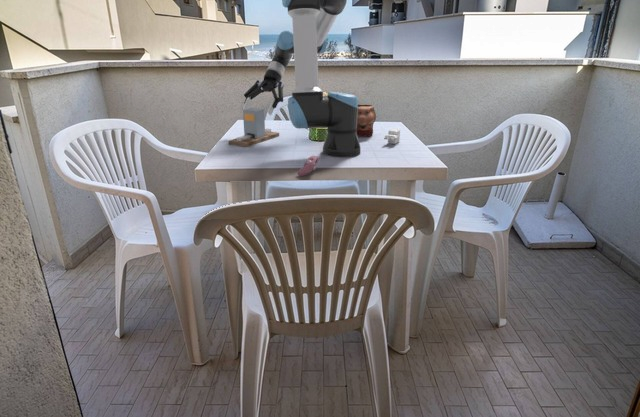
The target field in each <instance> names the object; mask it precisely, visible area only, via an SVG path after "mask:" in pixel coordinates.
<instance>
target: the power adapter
mask: <svg viewBox="0 0 640 417" xmlns="http://www.w3.org/2000/svg"><path fill="white" fill-rule="evenodd" d="M400 136H401V129H399V128H391V129H389V130H388V134H386V135H384V140H387V143H388V144H393V145H396V144H398V143H400V139H401V138H400Z"/></svg>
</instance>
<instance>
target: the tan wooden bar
mask: <svg viewBox="0 0 640 417" xmlns="http://www.w3.org/2000/svg"><path fill="white" fill-rule="evenodd" d="M271 132H272V129H271V128H265V134H268V133H271ZM236 138H237V141H239V142H243V141H246V140H249V139H252V138H255V134H252V133H251V134H248V135H241V136H238V137H236Z"/></svg>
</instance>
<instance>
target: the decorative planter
mask: <svg viewBox="0 0 640 417" xmlns="http://www.w3.org/2000/svg"><path fill="white" fill-rule="evenodd" d="M376 119H377V113H376V110H375V107H374V105H373V104H358V115H357V137H372V136H373V135H374V124H375V122H376Z"/></svg>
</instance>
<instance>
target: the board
mask: <svg viewBox="0 0 640 417" xmlns="http://www.w3.org/2000/svg"><path fill="white" fill-rule="evenodd" d="M279 136H280V132H276V131H271V133H268V134H265V136H264V137H261V138H258V139H256V138H252V139H249V140H246V141H243V142H239V141H237V138H238V137H236V138H233V139H229V140H228V145H233V146H239V147H245V148H248V147H251V146H254V145H257V144H259V143H262V142H266V141H268V140H271V139H274V138H278V137H279Z"/></svg>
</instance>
